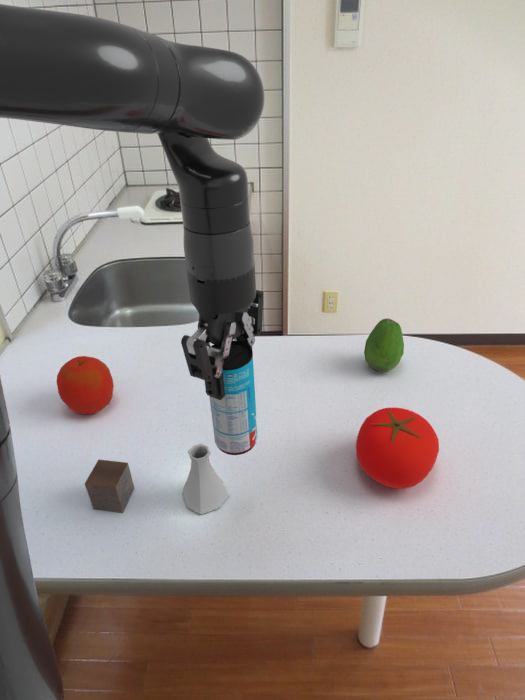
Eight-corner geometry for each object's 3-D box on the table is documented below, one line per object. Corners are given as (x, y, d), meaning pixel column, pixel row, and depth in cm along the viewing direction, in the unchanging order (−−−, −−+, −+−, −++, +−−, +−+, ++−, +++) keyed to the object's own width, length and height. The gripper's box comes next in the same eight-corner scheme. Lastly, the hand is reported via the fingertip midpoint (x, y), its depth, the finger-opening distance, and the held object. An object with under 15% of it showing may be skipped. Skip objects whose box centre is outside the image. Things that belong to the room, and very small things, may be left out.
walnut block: (122, 513, 82) (115, 487, 78) (93, 509, 83) (84, 483, 79) (134, 488, 86) (128, 462, 83) (106, 484, 87) (98, 459, 83)
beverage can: (266, 440, 73) (262, 352, 64) (235, 464, 70) (227, 374, 61) (237, 421, 76) (230, 335, 68) (206, 442, 73) (194, 354, 64)
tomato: (368, 430, 95) (373, 385, 89) (441, 452, 90) (451, 406, 84) (340, 485, 85) (344, 438, 79) (420, 514, 80) (430, 466, 74)
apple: (128, 400, 104) (117, 353, 98) (88, 430, 98) (74, 381, 91) (94, 384, 109) (81, 337, 103) (54, 411, 102) (37, 363, 96)
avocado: (398, 382, 106) (406, 332, 99) (360, 375, 108) (364, 326, 102) (402, 359, 112) (409, 311, 106) (366, 354, 115) (370, 306, 108)
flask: (211, 471, 88) (205, 427, 83) (237, 497, 84) (232, 453, 78) (174, 494, 85) (165, 450, 79) (199, 522, 80) (192, 477, 74)
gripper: (228, 232, 64) (236, 346, 74) (150, 281, 54) (172, 405, 64) (282, 243, 61) (283, 361, 70) (210, 297, 51) (223, 426, 60)
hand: (230, 381), depth 67 cm, fingers closed on beverage can, 6 cm apart
